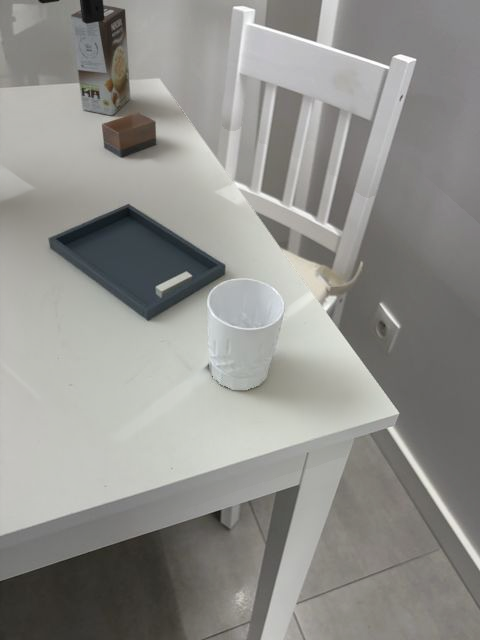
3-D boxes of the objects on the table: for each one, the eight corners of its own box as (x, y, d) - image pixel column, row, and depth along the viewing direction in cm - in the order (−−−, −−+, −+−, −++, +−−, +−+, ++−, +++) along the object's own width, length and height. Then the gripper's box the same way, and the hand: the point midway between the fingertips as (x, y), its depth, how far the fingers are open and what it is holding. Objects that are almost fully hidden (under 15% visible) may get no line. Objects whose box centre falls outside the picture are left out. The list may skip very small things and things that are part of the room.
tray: (50, 252, 73) (47, 238, 72) (129, 217, 81) (128, 203, 80) (148, 325, 66) (147, 311, 64) (224, 278, 73) (225, 264, 72)
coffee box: (113, 116, 104) (105, 21, 92) (81, 110, 104) (69, 15, 93) (131, 99, 110) (125, 8, 99) (101, 93, 111) (92, 2, 99)
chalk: (155, 286, 68) (161, 291, 67) (186, 271, 71) (192, 275, 70) (155, 293, 69) (161, 298, 68) (186, 278, 71) (192, 282, 71)
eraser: (103, 147, 95) (101, 123, 92) (139, 135, 100) (138, 112, 97) (120, 157, 93) (118, 133, 90) (156, 144, 98) (155, 121, 95)
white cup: (266, 402, 59) (278, 336, 52) (196, 387, 60) (198, 320, 53) (278, 351, 65) (290, 286, 58) (213, 338, 65) (217, 271, 58)
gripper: (-23, -171, 64) (9, -2, 76) (68, -147, 57) (88, 34, 69) (34, -168, 68) (56, -9, 80) (125, -145, 61) (134, 25, 74)
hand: (71, 11), depth 75 cm, fingers open, 9 cm apart
